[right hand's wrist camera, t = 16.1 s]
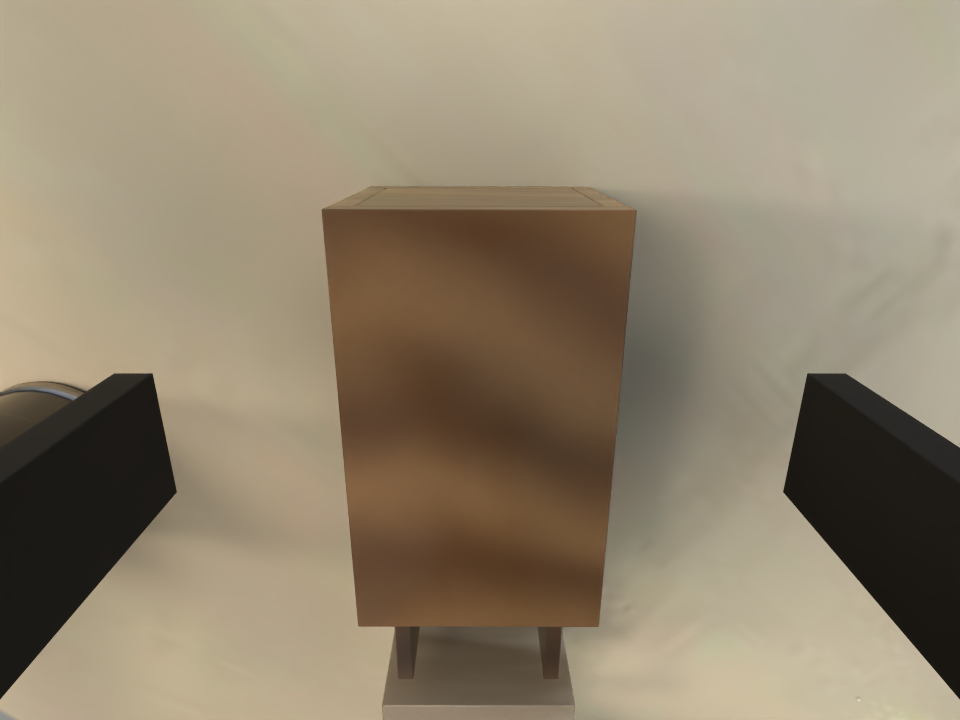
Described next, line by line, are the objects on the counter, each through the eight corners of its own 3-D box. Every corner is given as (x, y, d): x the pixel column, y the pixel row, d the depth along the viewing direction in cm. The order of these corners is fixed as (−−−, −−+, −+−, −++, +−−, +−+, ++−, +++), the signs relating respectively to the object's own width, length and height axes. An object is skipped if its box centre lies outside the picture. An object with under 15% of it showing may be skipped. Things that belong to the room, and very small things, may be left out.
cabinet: (569, 503, 37) (599, 627, 28) (388, 502, 37) (358, 627, 28) (588, 186, 31) (636, 209, 21) (370, 186, 31) (321, 209, 21)
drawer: (551, 678, 41) (567, 801, 33) (405, 678, 41) (388, 801, 33) (570, 352, 33) (597, 417, 25) (387, 351, 33) (360, 416, 25)
